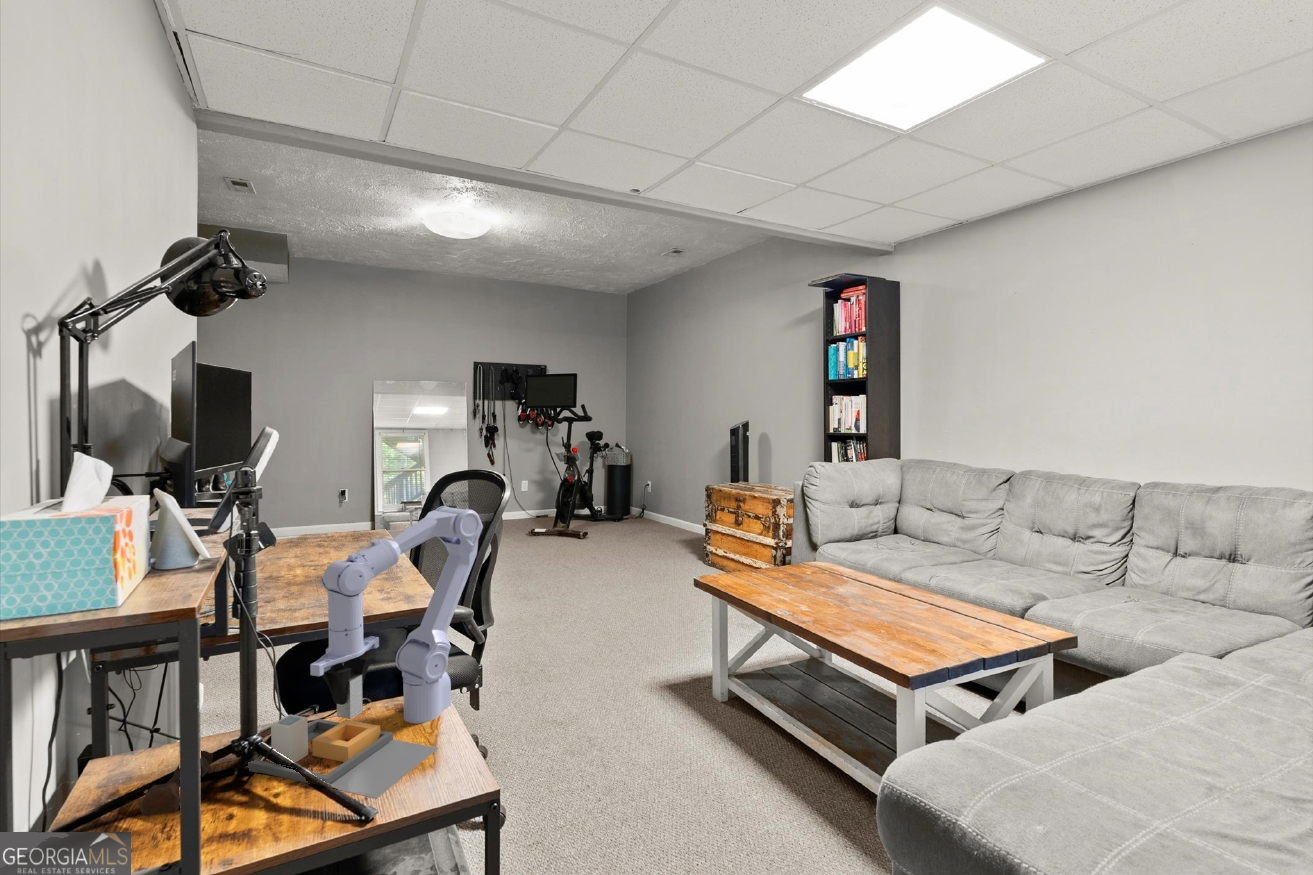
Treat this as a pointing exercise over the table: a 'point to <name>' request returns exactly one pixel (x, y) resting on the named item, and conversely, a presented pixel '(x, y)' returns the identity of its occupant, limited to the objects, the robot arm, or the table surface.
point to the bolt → (169, 791)
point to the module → (290, 737)
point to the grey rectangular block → (352, 698)
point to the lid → (383, 768)
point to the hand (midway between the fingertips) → (347, 698)
